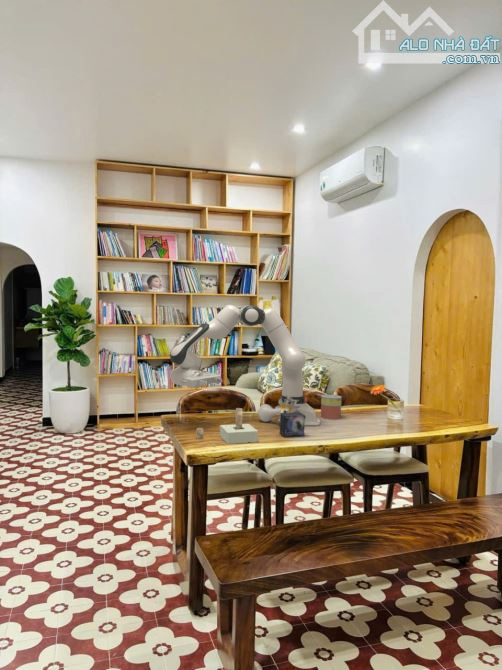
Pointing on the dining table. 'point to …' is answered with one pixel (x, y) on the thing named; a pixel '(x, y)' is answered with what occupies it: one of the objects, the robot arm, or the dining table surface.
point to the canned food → (331, 407)
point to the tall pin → (238, 418)
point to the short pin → (199, 433)
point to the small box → (292, 424)
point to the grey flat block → (238, 434)
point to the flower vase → (277, 409)
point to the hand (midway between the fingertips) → (214, 382)
